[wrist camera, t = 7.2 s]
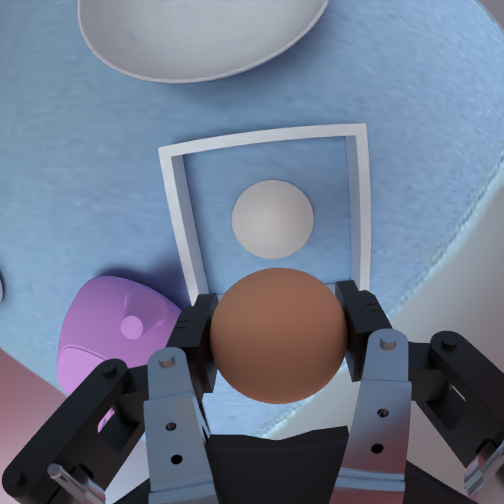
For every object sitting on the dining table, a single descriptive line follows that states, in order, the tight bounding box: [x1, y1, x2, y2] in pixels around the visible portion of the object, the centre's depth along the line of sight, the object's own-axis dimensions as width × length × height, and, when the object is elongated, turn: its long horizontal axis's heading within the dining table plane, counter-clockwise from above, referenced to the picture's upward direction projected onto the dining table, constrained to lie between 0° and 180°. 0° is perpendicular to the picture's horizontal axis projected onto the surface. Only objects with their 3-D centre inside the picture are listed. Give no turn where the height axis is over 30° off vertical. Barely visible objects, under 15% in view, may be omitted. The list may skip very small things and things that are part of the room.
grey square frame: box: [158, 123, 371, 306], centre depth 23 cm, size 14×14×3 cm
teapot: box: [57, 276, 182, 432], centre depth 24 cm, size 13×20×11 cm
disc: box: [232, 180, 314, 259], centre depth 24 cm, size 6×6×1 cm
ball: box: [210, 268, 348, 404], centre depth 11 cm, size 5×5×5 cm
